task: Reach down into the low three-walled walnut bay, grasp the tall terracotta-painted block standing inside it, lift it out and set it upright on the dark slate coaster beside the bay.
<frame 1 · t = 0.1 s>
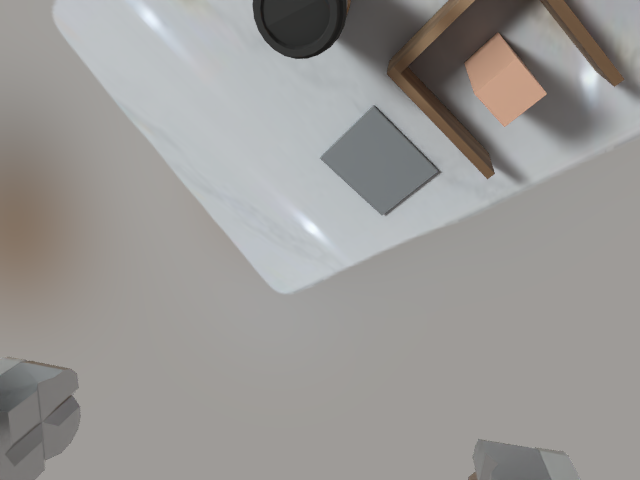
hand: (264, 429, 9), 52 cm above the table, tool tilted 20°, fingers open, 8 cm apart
terracotta block: (500, 76, 47), in the walnut bay
slate coaster: (378, 162, 62), on the table
walnut bay: (493, 62, 52), on the table
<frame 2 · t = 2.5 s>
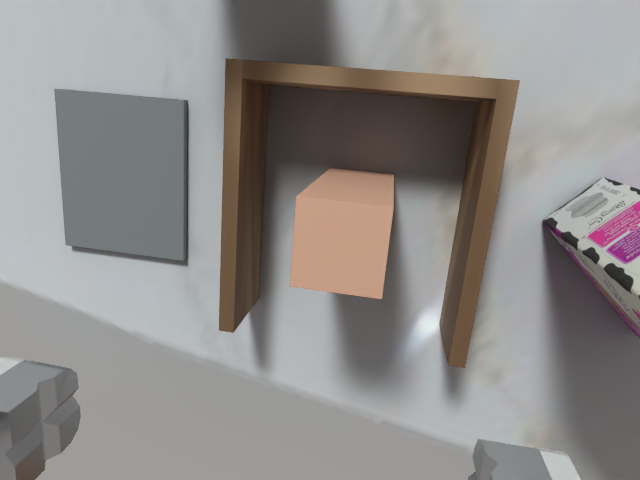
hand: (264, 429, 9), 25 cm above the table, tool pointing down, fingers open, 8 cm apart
terracotta block: (351, 220, 27), in the walnut bay
slate coaster: (125, 176, 35), on the table
candy bar box: (616, 259, 32), on the table
walnut bay: (358, 202, 33), on the table
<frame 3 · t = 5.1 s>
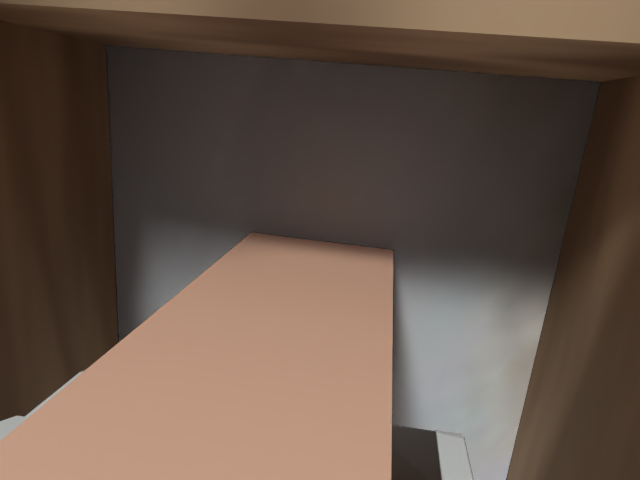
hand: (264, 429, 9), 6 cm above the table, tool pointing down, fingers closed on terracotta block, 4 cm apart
terracotta block: (266, 425, 9), in the walnut bay, touching gripper
walnut bay: (315, 307, 15), on the table
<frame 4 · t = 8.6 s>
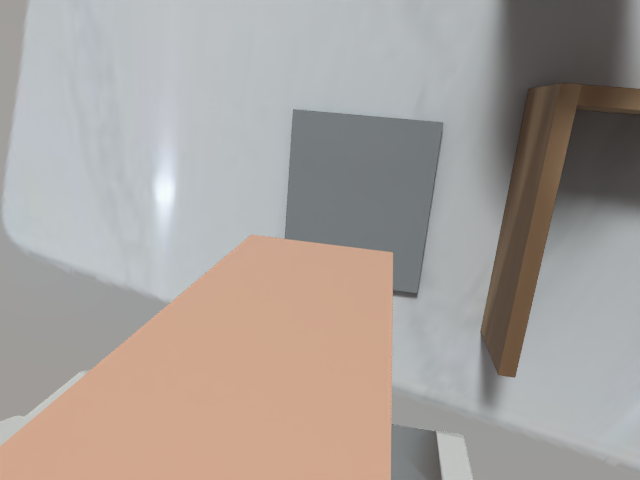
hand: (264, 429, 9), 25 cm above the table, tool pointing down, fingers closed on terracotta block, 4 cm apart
terracotta block: (266, 429, 9), point 25 cm above the table, touching gripper
slate coaster: (357, 202, 33), on the table
walnut bay: (627, 232, 31), on the table
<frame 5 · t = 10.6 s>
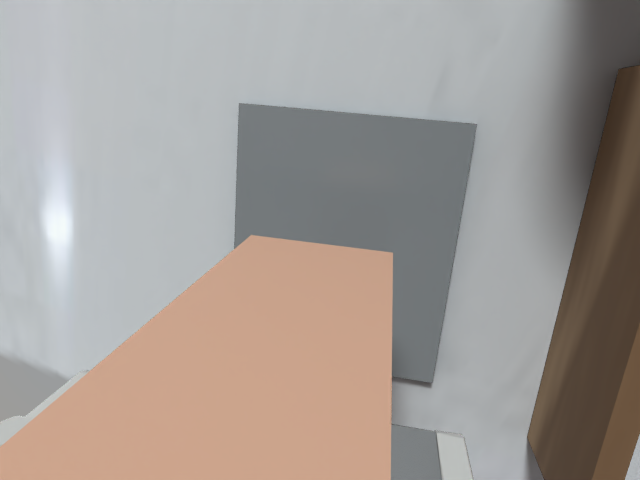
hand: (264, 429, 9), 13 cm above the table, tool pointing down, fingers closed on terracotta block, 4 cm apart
terracotta block: (266, 429, 9), point 13 cm above the table, touching gripper
slate coaster: (341, 246, 22), on the table
when the fingers open (7 cm above the table, at t = 12.2 s): terracotta block stays where it is, resting on slate coaster.
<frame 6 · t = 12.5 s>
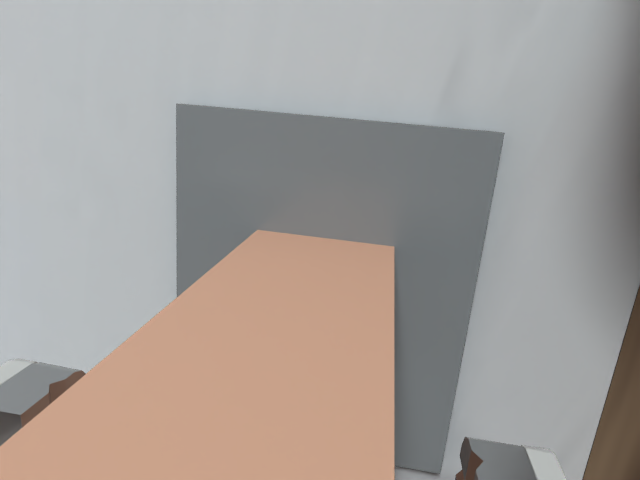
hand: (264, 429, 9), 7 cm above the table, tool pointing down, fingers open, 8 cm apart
terracotta block: (274, 411, 10), on the slate coaster, point 7 cm above the table
slate coaster: (319, 294, 16), on the table
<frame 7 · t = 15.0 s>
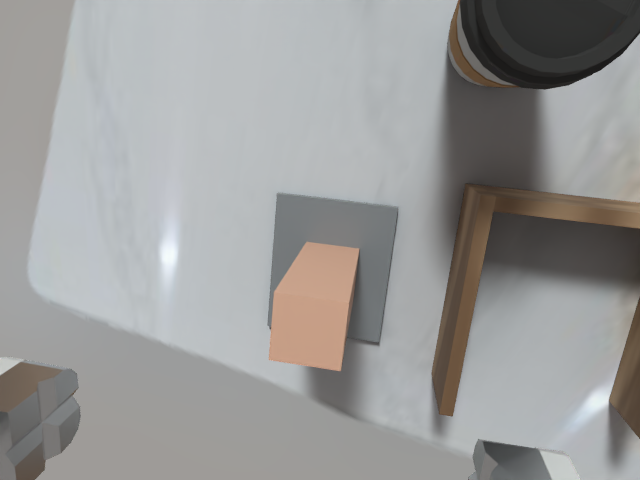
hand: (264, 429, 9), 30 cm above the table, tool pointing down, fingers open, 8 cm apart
terracotta block: (320, 296, 34), on the slate coaster, point 7 cm above the table
coffee cup: (490, 42, 34), on the table
slate coaster: (330, 267, 40), on the table
walnut bay: (546, 296, 38), on the table
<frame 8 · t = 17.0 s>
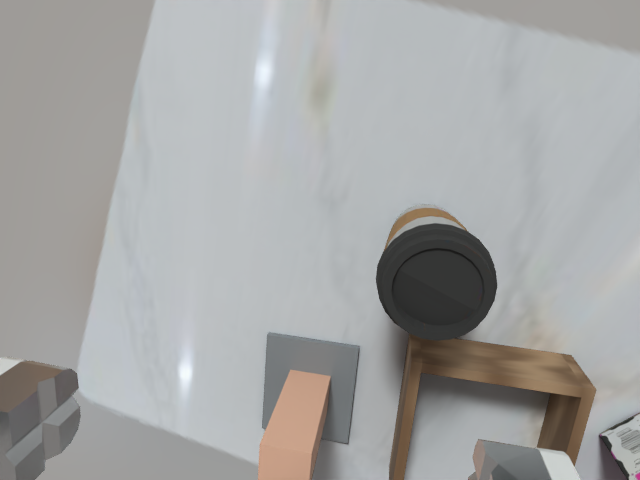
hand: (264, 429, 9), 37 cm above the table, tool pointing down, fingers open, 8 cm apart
terracotta block: (298, 425, 45), on the slate coaster, point 7 cm above the table
coffee cup: (423, 234, 45), on the table
slate coaster: (309, 387, 52), on the table
walnut bay: (474, 414, 49), on the table
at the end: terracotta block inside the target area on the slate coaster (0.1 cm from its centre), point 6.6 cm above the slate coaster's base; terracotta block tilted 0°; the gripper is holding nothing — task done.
